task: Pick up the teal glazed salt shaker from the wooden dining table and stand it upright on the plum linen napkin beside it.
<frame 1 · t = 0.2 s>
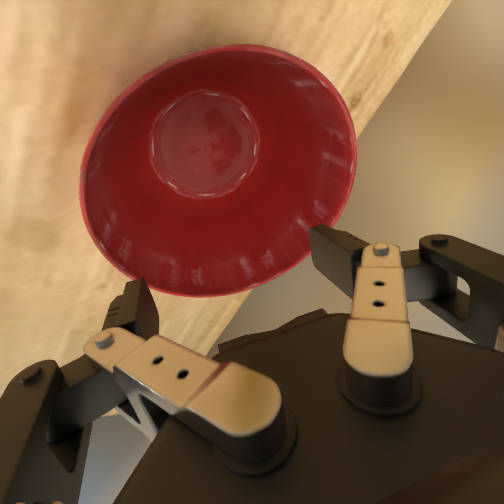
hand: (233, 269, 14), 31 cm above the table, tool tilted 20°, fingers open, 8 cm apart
mixing bowl: (205, 148, 42), on the table
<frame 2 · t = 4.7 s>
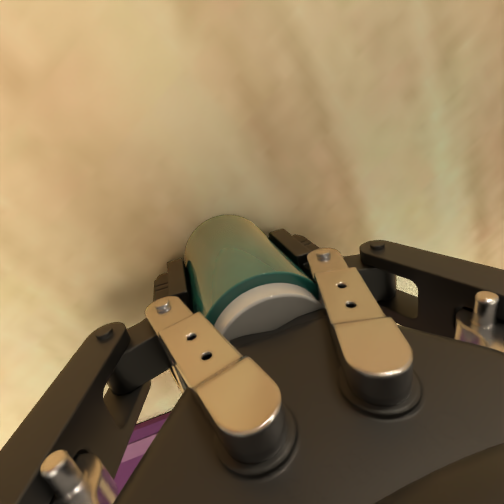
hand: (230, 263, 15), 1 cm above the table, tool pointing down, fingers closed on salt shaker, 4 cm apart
napkin: (222, 497, 23), on the table
salt shaker: (226, 255, 16), on the table, touching gripper
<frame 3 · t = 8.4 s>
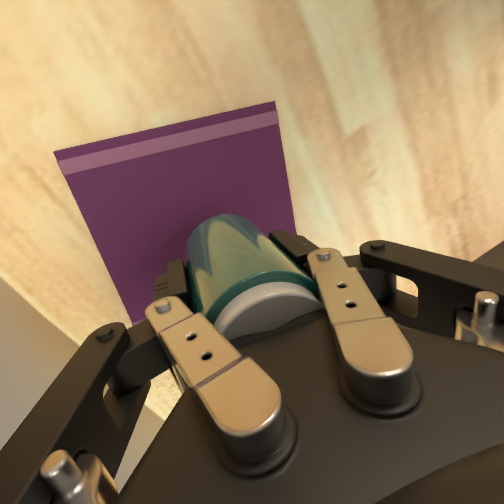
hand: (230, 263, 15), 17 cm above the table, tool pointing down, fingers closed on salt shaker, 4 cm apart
napkin: (201, 227, 31), on the table
salt shaker: (226, 254, 16), point 16 cm above the table, touching gripper
when the fingers open (2 cm above the table, at t = 12.3 s): salt shaker stays where it is, resting on napkin.
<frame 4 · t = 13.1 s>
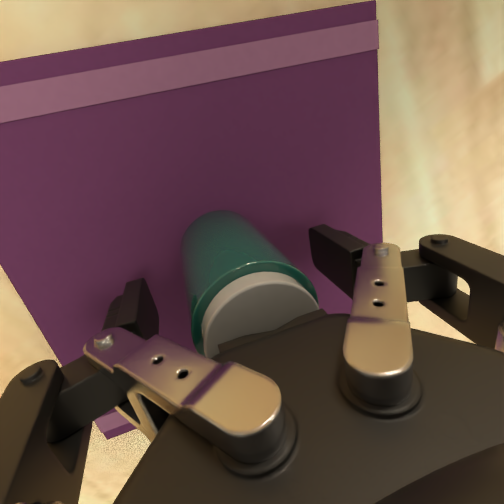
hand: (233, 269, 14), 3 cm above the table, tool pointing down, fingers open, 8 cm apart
napkin: (221, 248, 17), on the table
salt shaker: (221, 249, 16), resting on napkin
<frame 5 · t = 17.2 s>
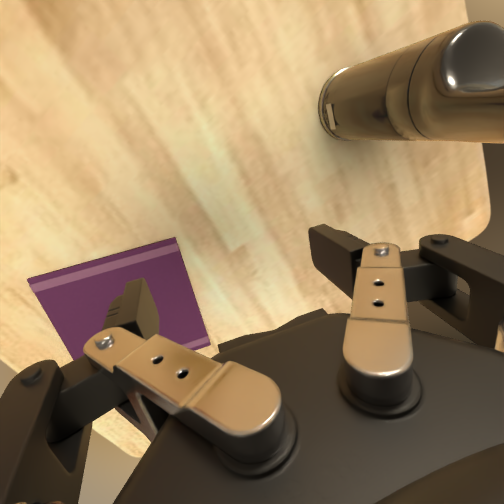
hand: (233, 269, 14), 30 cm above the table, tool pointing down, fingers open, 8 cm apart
napkin: (130, 315, 46), on the table
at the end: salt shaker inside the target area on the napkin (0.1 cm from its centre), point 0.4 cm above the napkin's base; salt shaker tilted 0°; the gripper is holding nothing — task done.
